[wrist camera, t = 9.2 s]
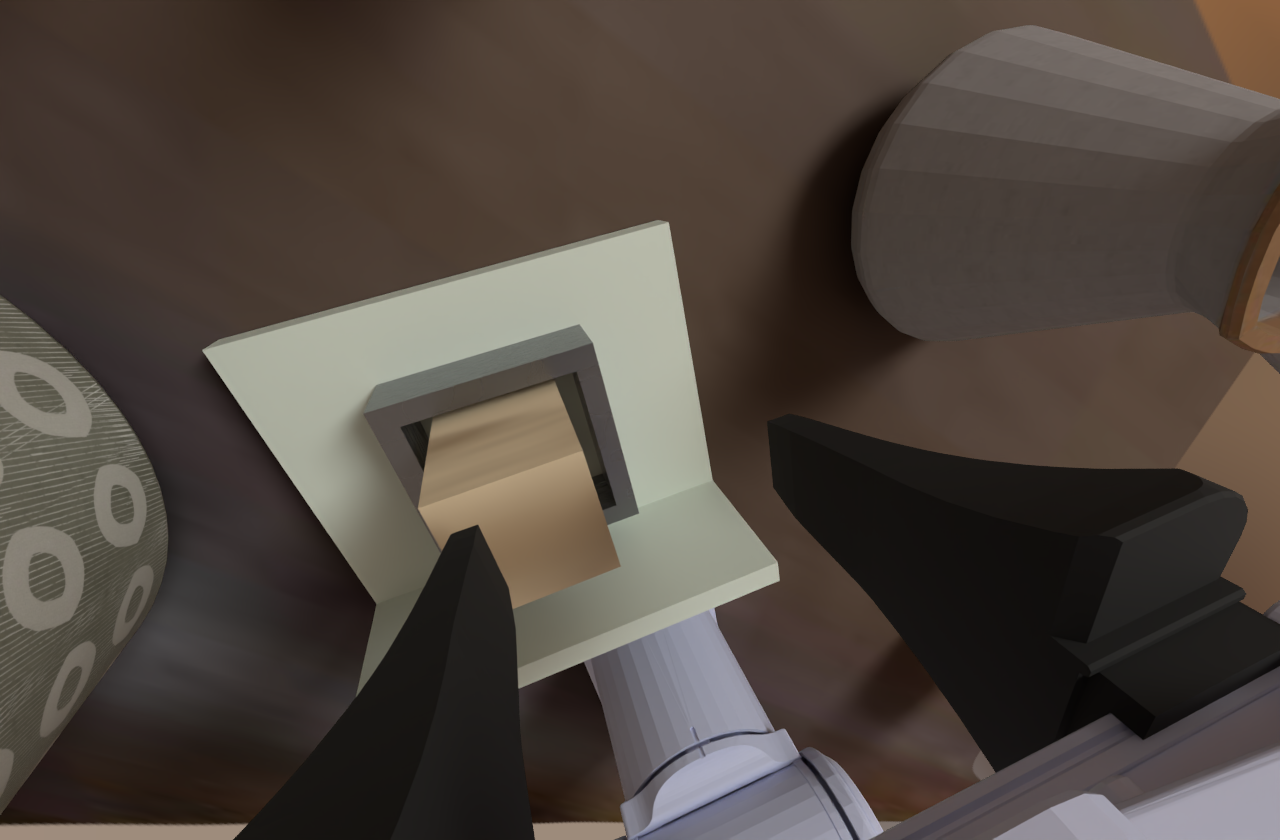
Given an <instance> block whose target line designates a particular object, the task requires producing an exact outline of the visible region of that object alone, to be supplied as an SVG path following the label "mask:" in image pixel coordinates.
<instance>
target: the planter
mask: <svg viewBox="0 0 1280 840" xmlns="http://www.w3.org/2000/svg"><path fill="white" fill-rule="evenodd" d="M168 539H169V538H168V524H167V513H166V509H165V504H164V500H163V496H162V491H161V488H160V485H159V482H158V480H157V477H156V474H155V472H154V469H153V466H152V463H151V461H150V460H149V458H148V456H147V454H146V452H145V450H144V448H143V446H142V444H141V442H140V440H139V438H138V436H137V435H136V433H135V432H134V430H133V429H132V427H131V426H130V424H129V423H128V421H127V420H126V418H125V417H124V415H123V414H122V412H121V411H120V409H119V408H118V407H117V405H116V404H115V403H114V402H113V400H112V399H111V398H110V397H109V395H108V394H107V393H106V392H105V391H104V389H103V388H102V387H101V386H100V384H99V383H98V382H97V381H96V380H95V378H94V377H93V376H92V375H91V374H90V373H89V372H88V371H87V370H86V369H85V368H84V367H83V366H82V365H81V364H80V363H79V362H78V361H77V360H76V359H75V358H74V357H73V356H72V355H71V354H70V353H69V351H68V350H67V349H65V348H64V347H63V346H62V345H61V344H60V343H59V342H58V341H56V340H55V339H54V338H53V337H52V336H51V335H50V334H48V333H47V332H46V331H45V330H44V329H43V328H42V327H41V326H39V325H38V324H37V323H36V322H35V321H34V320H33V319H31V318H30V317H29V316H27V315H26V314H25V313H24V312H22V311H21V310H20V309H18V308H17V307H16V306H14V305H13V304H12V303H11V302H9V301H8V300H7V299H5V298H4V297H3V296H1V295H0V815H1V813H2V812H3V811H4V809H5V808H6V807H7V805H8V804H9V802H10V801H11V800H12V798H13V797H14V796H15V794H16V793H17V792H18V790H19V789H20V788H21V786H22V785H23V784H24V782H25V781H26V780H27V778H28V777H29V775H30V774H31V773H32V771H33V770H34V769H35V767H36V766H37V765H38V763H39V762H40V761H41V759H42V758H43V757H44V755H45V754H46V753H47V751H48V750H49V748H50V747H51V746H52V744H53V743H54V742H55V740H56V739H57V738H58V736H59V735H60V734H61V732H62V731H63V730H64V728H65V727H66V726H67V724H68V723H69V721H70V720H71V719H72V717H73V716H74V715H75V713H76V712H77V711H78V709H79V708H80V707H81V705H82V704H83V703H84V701H85V700H86V699H87V697H88V696H89V694H90V693H91V692H92V690H93V689H94V688H95V686H96V685H97V684H98V682H99V681H100V680H101V678H102V677H103V676H104V674H105V673H106V672H107V670H108V669H109V667H110V666H111V665H112V663H113V662H114V661H115V659H116V658H117V657H118V655H119V654H120V653H121V651H122V650H123V649H124V647H125V646H126V645H127V643H128V642H129V640H130V639H131V638H132V636H133V635H134V634H135V632H136V631H137V630H138V628H139V627H140V626H141V624H142V622H143V621H144V619H145V617H146V616H147V614H148V612H149V611H150V609H151V607H152V606H153V603H154V601H155V598H156V596H157V593H158V591H159V588H160V586H161V583H162V578H163V574H164V570H165V566H166V562H167V552H168Z"/></svg>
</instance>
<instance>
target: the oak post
mask: <svg viewBox="0 0 1280 840" xmlns="http://www.w3.org/2000/svg"><path fill="white" fill-rule="evenodd" d="M418 510H419V511H420V513H421V515H422V517H423V519H424V520H425V522H426V524H427V526H428V527H429V529H430V531H431V533H432V534H433V536H434V538H435V540H436V541H437V543H438V545H439V547H440V549H441V550H443V548H444V546H445V544H446V542H447V540H448V538H449V537H450V535H451V534H452V533H455V532H458V531H461V530H464V529H466V528H469V527H472V526H475V525H479V527H480V529H481V532H482V534H483V536H484V538H485V540H486V542H487V544H488V546H489V548H490V550H491V552H492V554H493V556H494V558H495V560H496V562H497V565H498V567H499V569H500V571H501V573H502V575H503V577H504V579H505V581H506V583H507V585H508V587H509V592H510V597H511V603H512V608H513V609H515V608H517V607H520V606H522V605H525V604H527V603H530V602H532V601H535V600H537V599H540V598H542V597H545V596H547V595H550V594H553V593H555V592H558V591H560V590H563V589H565V588H568V587H570V586H573V585H575V584H578V583H580V582H583V581H585V580H588V579H591V578H593V577H596V576H598V575H601V574H603V573H606V572H608V571H611V570H613V569H616V568H618V567H621V565H620V562H619V559H618V556H617V553H616V550H615V547H614V544H613V541H612V538H611V535H610V532H609V529H608V526H607V523H606V520H605V517H604V513H603V510H602V507H601V504H600V501H599V498H598V495H597V492H596V489H595V486H594V483H593V480H592V477H591V474H590V471H589V468H588V465H587V462H586V459H585V456H584V453H583V450H582V448H581V445H580V443H579V440H578V438H577V435H576V433H575V430H574V428H573V425H572V423H571V420H570V418H569V415H568V413H567V410H566V408H565V405H564V403H563V400H562V398H561V396H560V393H559V391H558V388H557V386H556V383H555V381H554V379H551V380H547V381H544V382H541V383H538V384H535V385H532V386H528V387H525V388H522V389H519V390H516V391H513V392H509V393H506V394H503V395H500V396H497V397H494V398H490V399H487V400H484V401H481V402H478V403H474V404H471V405H468V406H465V407H462V408H459V409H455V410H452V411H449V412H446V413H443V414H440V415H436V416H433V419H432V425H431V431H430V437H429V444H428V450H427V456H426V462H425V468H424V474H423V480H422V486H421V492H420V499H419V505H418Z"/></svg>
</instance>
